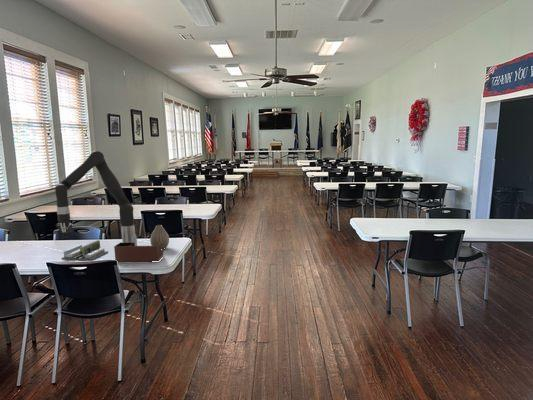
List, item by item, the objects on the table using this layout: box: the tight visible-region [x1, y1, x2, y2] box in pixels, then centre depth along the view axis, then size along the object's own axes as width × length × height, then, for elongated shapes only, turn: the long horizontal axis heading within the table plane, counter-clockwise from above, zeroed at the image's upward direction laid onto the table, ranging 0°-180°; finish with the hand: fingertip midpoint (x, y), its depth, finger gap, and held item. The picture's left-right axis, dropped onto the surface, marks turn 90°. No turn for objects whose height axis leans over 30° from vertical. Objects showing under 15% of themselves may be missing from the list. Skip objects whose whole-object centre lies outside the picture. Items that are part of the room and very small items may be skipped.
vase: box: [149, 224, 170, 250], centre depth 261 cm, size 13×13×18 cm
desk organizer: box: [113, 242, 164, 263], centre depth 237 cm, size 10×29×11 cm, turn 89°
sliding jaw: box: [63, 244, 83, 257], centre depth 250 cm, size 6×16×4 cm, turn 171°
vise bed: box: [61, 247, 109, 261], centre depth 249 cm, size 22×18×3 cm
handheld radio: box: [76, 239, 101, 259], centre depth 248 cm, size 7×3×25 cm
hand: (65, 237), depth 249 cm, fingers closed
